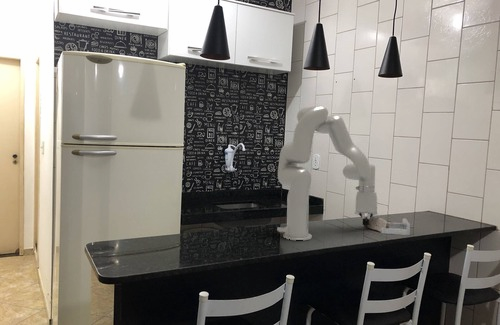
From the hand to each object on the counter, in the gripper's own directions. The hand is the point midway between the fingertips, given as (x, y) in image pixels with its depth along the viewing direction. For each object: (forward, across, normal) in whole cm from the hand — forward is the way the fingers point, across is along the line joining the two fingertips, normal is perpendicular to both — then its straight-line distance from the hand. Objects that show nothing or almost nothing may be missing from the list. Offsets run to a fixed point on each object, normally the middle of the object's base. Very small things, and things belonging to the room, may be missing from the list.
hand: (365, 226), depth 197 cm
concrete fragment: (+2, +5, +1) cm, 6 cm away
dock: (+1, +13, 0) cm, 13 cm away
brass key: (+1, +14, +14) cm, 19 cm away
